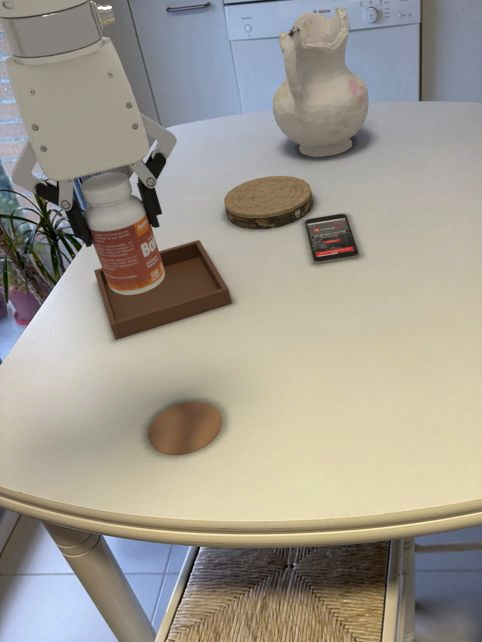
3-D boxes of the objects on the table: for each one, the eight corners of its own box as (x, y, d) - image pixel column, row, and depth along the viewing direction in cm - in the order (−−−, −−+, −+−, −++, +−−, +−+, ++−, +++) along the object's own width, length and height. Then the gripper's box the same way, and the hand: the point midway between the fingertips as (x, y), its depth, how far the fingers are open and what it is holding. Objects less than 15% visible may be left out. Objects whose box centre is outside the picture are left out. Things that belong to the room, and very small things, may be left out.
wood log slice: (299, 184, 125) (297, 168, 123) (324, 217, 114) (322, 201, 112) (219, 203, 123) (216, 188, 121) (237, 239, 112) (233, 223, 110)
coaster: (157, 467, 74) (155, 463, 74) (142, 419, 80) (141, 416, 80) (231, 440, 76) (230, 437, 75) (212, 396, 82) (210, 392, 82)
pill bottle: (165, 291, 68) (133, 189, 60) (107, 301, 68) (68, 200, 60) (167, 262, 73) (137, 164, 65) (112, 272, 72) (76, 174, 65)
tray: (116, 342, 93) (110, 325, 91) (100, 285, 105) (93, 270, 103) (232, 305, 97) (228, 288, 95) (203, 255, 109) (199, 239, 107)
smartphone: (313, 262, 102) (304, 219, 112) (314, 266, 102) (304, 223, 113) (359, 254, 102) (345, 212, 112) (360, 259, 102) (346, 216, 113)
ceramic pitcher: (361, 175, 128) (363, 31, 110) (264, 172, 130) (251, 31, 113) (371, 134, 143) (374, 1, 125) (285, 132, 145) (276, 2, 128)
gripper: (145, 4, 58) (192, 196, 71) (-55, 45, 55) (33, 240, 67) (163, 19, 53) (211, 223, 66) (-56, 65, 49) (39, 272, 62)
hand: (120, 230), depth 66 cm, fingers closed on pill bottle, 6 cm apart
